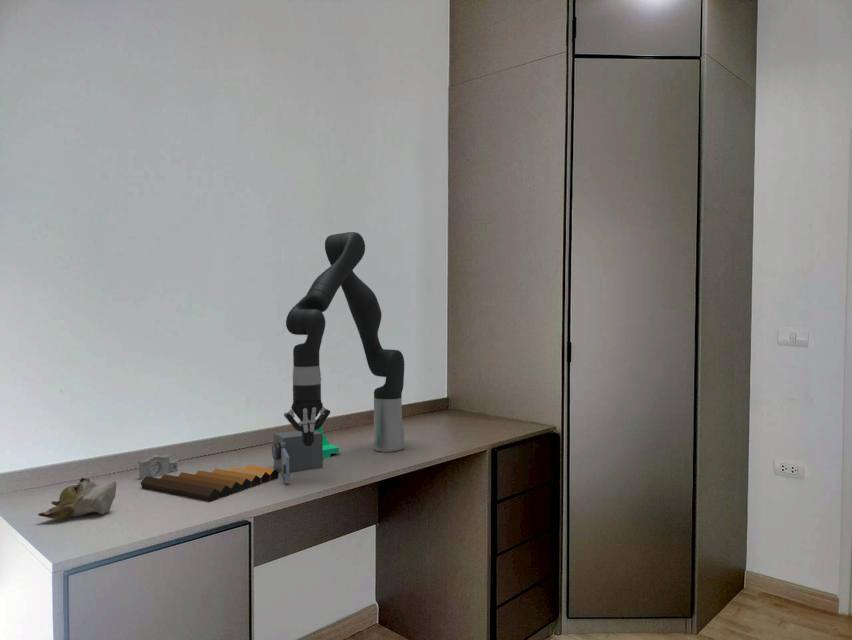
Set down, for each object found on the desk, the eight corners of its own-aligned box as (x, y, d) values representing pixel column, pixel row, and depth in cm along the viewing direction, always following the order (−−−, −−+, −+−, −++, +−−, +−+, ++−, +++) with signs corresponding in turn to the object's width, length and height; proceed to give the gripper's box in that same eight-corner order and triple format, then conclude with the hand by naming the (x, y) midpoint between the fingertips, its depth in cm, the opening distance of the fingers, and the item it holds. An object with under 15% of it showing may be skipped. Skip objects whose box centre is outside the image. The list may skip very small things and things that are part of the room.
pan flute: (140, 490, 166) (209, 504, 154) (140, 477, 166) (209, 490, 154) (213, 469, 188) (278, 479, 176) (213, 457, 188) (278, 467, 176)
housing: (311, 461, 194) (311, 426, 194) (325, 468, 186) (324, 431, 186) (269, 467, 187) (269, 431, 187) (281, 475, 179) (281, 436, 179)
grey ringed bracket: (175, 470, 185) (174, 449, 185) (179, 470, 184) (178, 450, 184) (137, 479, 175) (137, 458, 175) (141, 480, 174) (141, 458, 174)
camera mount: (307, 461, 195) (307, 428, 195) (295, 457, 201) (294, 424, 201) (340, 455, 203) (340, 423, 203) (327, 451, 209) (327, 420, 209)
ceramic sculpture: (110, 480, 141) (35, 489, 138) (113, 518, 142) (38, 528, 138) (120, 469, 152) (50, 476, 148) (123, 505, 152) (53, 513, 148)
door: (290, 483, 169) (289, 456, 169) (283, 483, 168) (283, 457, 168) (285, 471, 181) (285, 447, 180) (279, 472, 180) (279, 447, 180)
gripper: (325, 379, 179) (326, 440, 180) (279, 382, 173) (280, 445, 174) (334, 382, 173) (335, 445, 173) (286, 385, 166) (288, 451, 167)
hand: (307, 445), depth 173 cm, fingers closed
